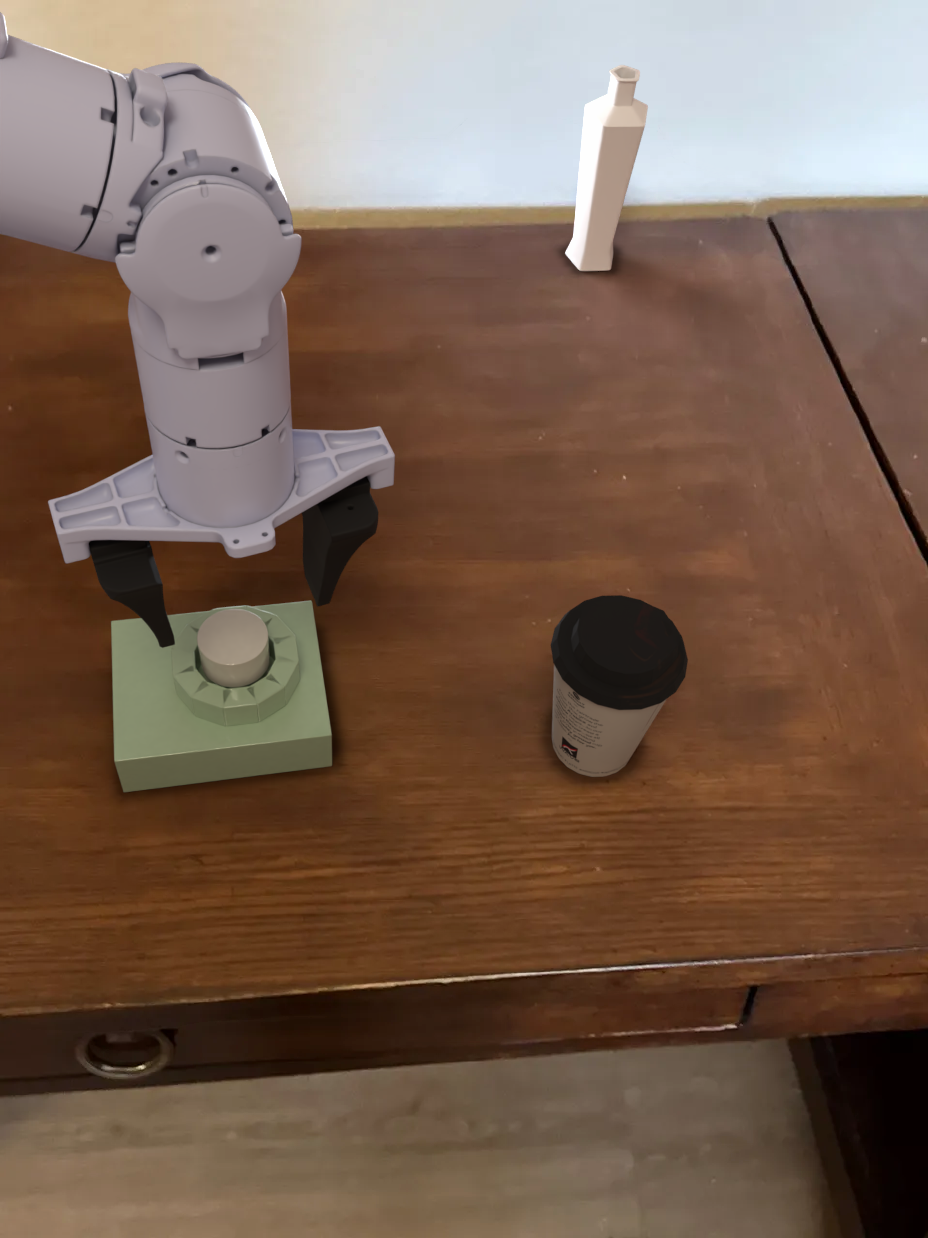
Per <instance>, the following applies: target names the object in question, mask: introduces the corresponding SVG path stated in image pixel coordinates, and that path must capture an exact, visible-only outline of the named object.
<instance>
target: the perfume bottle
mask: <svg viewBox="0 0 928 1238" xmlns="http://www.w3.org/2000/svg"><path fill="white" fill-rule="evenodd" d="M608 72H609V74H610V79H609V84H608V89H607V93H606V94H604V95H602V96H600V97H598V98H595V99H594V100H592V101H589V102H587V103H585V104H584V109H583V110H584V111H583V121H582V133H581V143H580V156H579V157H580V158H579V166H578V178H577V189H576V200H575V213H574V222H573V235H572V238H571V240H570V242H569V244H568V246H567V247H566V250H565V253H564V254H565V256H566V257H567V258H568V259H569V260H570V261H571V263H572V264H573V265H574V266H575V268H576V269H577V270H579V271H580V272H598V271H599V272H600V271H610V270H611V269H612V266H613V258H614V238H615V235H616V232H617V228H618V224H619V222H620V221H619V220H620V216H621V214H622V210H623V206H624V202H625V200H626V196H627V192H628V188H629V184H630V181H631V177H632V173H633V170H634V168H635V167H634V166H635V163H636V158H637V155H638V152H639V149H640V145H641V142H642V138H643V134H644V131H645V127H646V123H647V116H648V108H649V107H648V104H647V103H644V102H642V101H641V100H639V99H637V98H635V97H634V96H635V92H636V88H637V83H638V82H639V81H640V77H641V71H640V70H639V69H637V68H634V67H631V66H628V65H625V64H619V65H617V66H615V67H613V68H611V69H609V71H608Z"/></svg>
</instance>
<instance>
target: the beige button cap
mask: <svg viewBox="0 0 928 1238" xmlns="http://www.w3.org/2000/svg"><path fill="white" fill-rule="evenodd" d="M197 644H198V650H199V656H200V662H201V667H202V670H203V672H204V674H205V675H206V676H207V677H208V678H209V679H210V680H211V681H213V682H214V683H216V684H218V685H221V686H225V687H242V686H246V685H249V684H251V683H253V682H255V681H257V680H258V679H259V678H260V677H262V675H263V674H264V673H265V672H266V670H267V668H268V666H269V663H270V650H269V638H268V630H267V627H266V625H265V623H264V622H263V621H262V620H261V619H260V618H259V617H258V616H257V615H255V614H253V613H252V612H249V611H246V610H241V609H228V610H223V611H220V612H217V613H215V614H213V615H212V616H210V617H209V618H207V619H206V620H205V621H204V622H203V624H202V625H201V627H200V629H199V631H198V634H197Z"/></svg>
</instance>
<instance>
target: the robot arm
mask: <svg viewBox="0 0 928 1238" xmlns="http://www.w3.org/2000/svg"><path fill="white" fill-rule="evenodd" d="M6 24H7V23H6V18H5V15H4V14H3V13H2V12H1V11H0V235H3V236H6V237H11V238H15V239H18V240H23V241H26V242H30V243H34V244H38V245H40V246H44V247H48V248H52V249H57V250H59V251H63V252H67V253H71V254H75V255H79V256H82V257H85V258H91V259H94V260H100V261H105V262H110V263H113V264H114V263H115V265H116V268H117V271H118V273H119V276H120V278H121V279H122V281H123V283H124V285H125V286H126V287H127V288H128V290H129V291H130V294H129V298H128V304H127V305H128V306H127V318H128V324H129V328H130V333H131V339H132V345H133V352H134V356H135V363H136V367H137V368H136V369H137V374H138V378H139V385H140V391H141V396H142V400H143V409H144V415H145V420H146V425H147V430H148V436H149V442H150V448H151V453H152V454H151V455H149V456H147V457H145V458H143V459H140V460H139V461H137V462H135V463H133V464H131V465H129V466H127V467H125V468H123V469H121V470H119V471H117V472H115V473H114V474H112V475H110V476H108V477H106V478H104V479H101V480H100V481H98V482H96V483H94V484H92V485H90V486H87V487H86V488H84V489H81V490H79V491H75V492H73V493H69V494H67V495H64V496H60V497H56V498H52V499H49V500H48V501H47V505H48V508H49V510H50V511H49V512H50V514H51V518H52V521H53V525H54V530H55V533H56V537H57V540H58V543H59V544H58V545H59V546H60V550H61V554H62V558H63V561H64V563H65V564H72V563H75V562H79V561H84V560H86V559H89V558H90V557H91V559H92V563H93V567H94V569H95V574H96V578H97V580H98V583H99V585H100V587H101V588H102V591H104V593H105V594H106V596H108V597H109V599H110V600H112V601H115V602H118V603H119V604H122V605H124V606H125V607H127V608H128V609H130V610H131V611H133V612H134V613H135V614H136V615H137V616H138V617H139V618H142V620H143V621H144V622H145V623H146V624H147V625H148V626H149V628H150V629H151V630H152V632H153V633H154V635H155V636H156V638H157V640H158V643H159V646H160V647H162V648H164V647H168V646H171V645H175V640H174V635H173V631H172V628H171V625H170V622H169V619H168V616H167V615H168V613H167V611H166V606H165V605H166V604H165V598H164V583H163V581H162V577H161V575H160V572H159V569H158V566H157V563H156V559H155V556H154V552H153V547H152V545H151V542H183V543H184V542H186V543H187V542H188V543H189V542H191V543H192V542H193V543H219V544H221V545H222V546H223V547H224V551H225V553H226V554H227V555H228V557H231V558H233V559H241V558H246V557H250V556H253V555H258V554H261V553H266V552H268V551H271V550H273V549H274V547H275V546H276V545H277V544H276V531H275V529H276V528H278V527H280V526H281V525H283V524H285V523H286V522H288V521H290V520H292V519H293V518H295V517H297V516H299V515H300V514H301V517H302V567H303V573H304V578H305V581H306V583H307V585H308V588H309V590H310V592H311V595H312V597H313V600H314V602H315V604H316V607H323V606H325V605H329V604H330V603H331V602H332V598H333V595H334V592H335V590H336V587H337V585H338V583H339V580H340V578H341V575H342V574H343V572H344V570H345V568H346V566H347V564H348V563H349V561H350V560H351V558H352V557H353V556H354V555H355V553H356V552H357V550H358V549H360V547H361V546H362V545H364V543H365V542H366V541H368V540H369V539H370V538H372V537H373V536H375V534H376V533H377V529H378V526H379V509H378V506H377V505H376V502H375V500H374V498H373V496H372V494H371V489H372V490H379V489H384V488H388V487H392V486H394V484H395V482H394V481H395V464H396V463H395V462H396V454H395V453H394V451H393V448H392V446H391V445H390V443H389V441H388V439H387V437H386V435H385V433H384V431H383V428H382V427H381V426H380V425H378V426H373V427H367V428H359V429H348V430H347V429H346V430H344V429H343V430H341V429H340V430H338V429H337V430H335V429H334V430H333V429H299V428H297V429H296V428H293V416H292V394H291V393H292V392H291V373H290V351H289V333H288V332H289V331H288V312H287V310H288V309H287V302H286V299H285V296H284V293H283V291H282V290H283V288H284V287H285V286H286V284H287V283H288V282H289V281H290V279H291V278H292V276H293V274H294V272H295V270H296V267H297V265H298V262H299V260H300V256H301V251H302V239H303V238H302V236H301V235H300V234H298V233H294V223H293V222H294V221H293V214H292V211H291V208H290V205H289V202H288V199H287V196H286V194H285V190H284V188H283V186H282V185H283V184H282V183H281V180H280V177H279V174H278V171H277V169H276V166H275V163H274V160H273V158H272V154H271V152H270V151H271V150H270V148H269V146H268V143H267V140H266V138H265V135H264V131H263V129H262V127H261V124H260V122H259V120H258V118H257V117H256V115H255V114H254V112H253V111H252V109H251V106H250V105H249V104H248V102H247V101H246V100H245V98H244V97H243V96H242V95H241V94H240V93H239V92H238V90H236V89H235V88H234V87H232V86H231V85H230V84H229V83H227V82H225V81H224V80H222V79H220V78H219V77H216V76H214V75H211V74H210V73H209V72H207V71H206V70H205V69H204V68H203V67H202V66H201V65H199V64H197V63H192V62H180V61H179V62H165V63H160V64H156V65H151V66H149V67H146V68H142V69H140V68H137V67H134V68H132V70H130V72H129V73H125V72H124V73H123V72H117V71H114V70H112V69H108V68H104V67H101V66H99V65H96V64H93V63H90V62H87V61H84V60H81V59H79V58H76V57H74V56H73V57H72V56H70V55H67V54H64V53H61V52H58V51H57V50H56V51H55V50H52V49H50V48H47V47H44V46H42V45H39V44H36V43H33V42H31V41H28V40H25V39H21V38H19V37H16V36H13V35H10V34H8V30H7V25H6Z"/></svg>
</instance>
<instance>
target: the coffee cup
mask: <svg viewBox="0 0 928 1238" xmlns="http://www.w3.org/2000/svg"><path fill="white" fill-rule="evenodd" d="M550 650H551V656H552V663H553V685H552V688H553V689H552V691H553V692H552V715H551V716H552V717H551V742H552V748H553V751H554V752H555V754H556V756H557V758H558V759H559V760H560V761H561V762H562V763H563V764H564V765H565V767H567V769H570V770H571V771H573V772H575V773H577V774H578V775H583V776H587V777H589V778H590V777H591V778H600V777H603V778H604V777H609V776H610V775H613V774H617V773H618V772H619V771H621V770H622V769H623V768H625V767H626V765H627V764H628V762H629V761H630V759H631V758H632V756H633V754H634V752H636V749H638V747H639V744H640V743H641V742H642V740H643V738H644V737H645V735H646V733H647V732H648V730H649V729H650V727H651V725H652V724H653V722H654V720H655V719H656V717H657V715H658V714H659V712H660V711H661V710H662V707H663V706H664V704H665V703H666V701H667V699H669V698H670V697H671V696H673V695H674V694H675V693H677V692H678V689H679V688H680V686H681V684H682V683H683V681H684V680H685V678H686V675H687V669H688V661H689V659H688V654H687V650H686V645H685V641H684V638H683V636H682V634H681V633H680V631H679V629H678V627H677V626H676V625H675V623H674V621H673V620H672V619H670V617H669V616H668V615H667V613H666V612H665V610H663V609H661V608H659V607H656V606H654V605H652V604H649V602H648V603H647V602H646V601H644V600H641V599H639V598H634V597H630V596H626V595H621V594H619V595H617V594H615V595H614V594H613V595H611V594H610V595H599V596H596V597H592V598H590V599H585V600H583V601H582V602H580V603H579V604H577V605H576V606H574V607H573V608H571V609H570V610H568V611H567V612H566V613H565V614H563V616H562V618H561V619H560V620H559V622H558V623H557V624H556V626H554V629H553V633H552V637H551V642H550Z"/></svg>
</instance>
